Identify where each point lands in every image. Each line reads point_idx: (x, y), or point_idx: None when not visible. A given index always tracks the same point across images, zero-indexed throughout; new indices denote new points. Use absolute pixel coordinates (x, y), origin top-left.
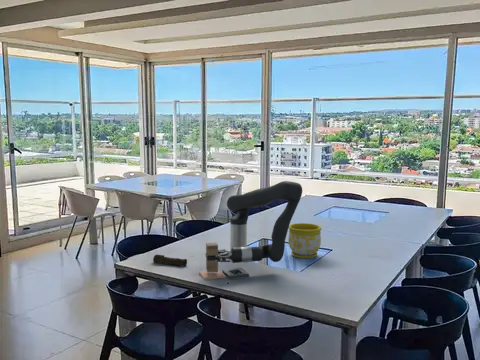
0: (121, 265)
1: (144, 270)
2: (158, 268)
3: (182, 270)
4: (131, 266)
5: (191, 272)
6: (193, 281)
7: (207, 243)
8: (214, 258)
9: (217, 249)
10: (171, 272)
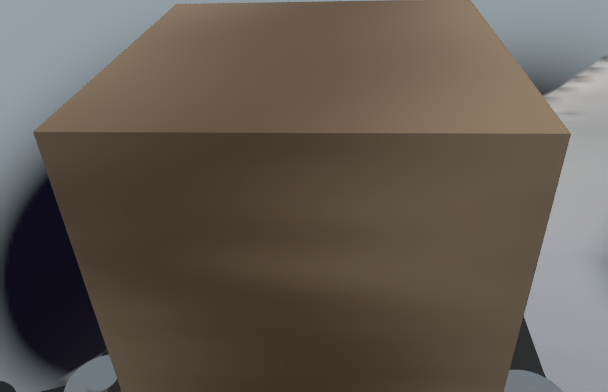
0: (601, 59)
1: None
2: (579, 157)
3: (550, 275)
4: (593, 80)
5: None
6: None
7: (410, 9)
8: None
9: (95, 280)
10: None
